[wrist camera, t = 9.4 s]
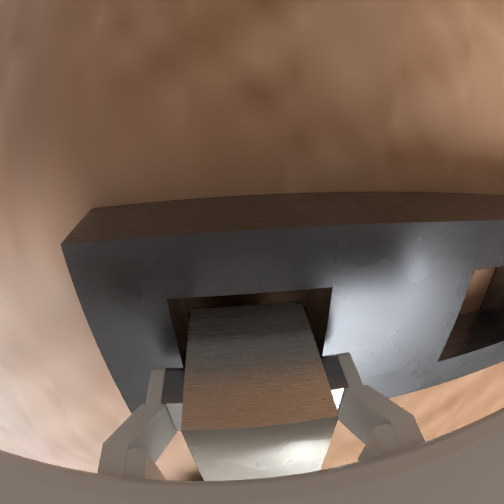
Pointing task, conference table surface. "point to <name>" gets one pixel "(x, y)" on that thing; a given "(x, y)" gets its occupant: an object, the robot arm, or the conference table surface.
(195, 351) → the wood grain block
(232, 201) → the grey slotted board
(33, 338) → the conference table surface
